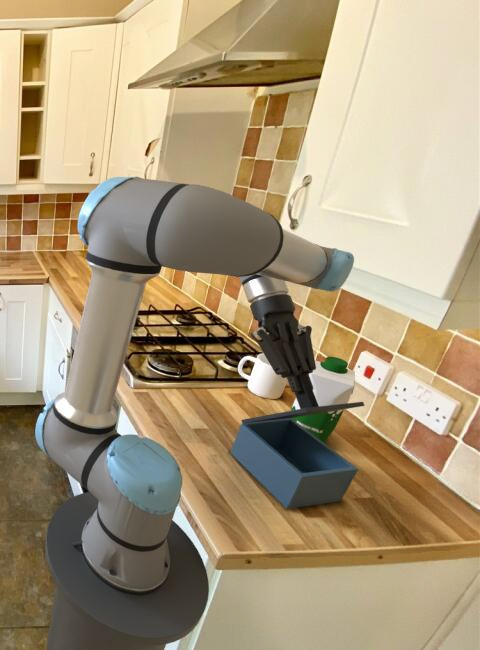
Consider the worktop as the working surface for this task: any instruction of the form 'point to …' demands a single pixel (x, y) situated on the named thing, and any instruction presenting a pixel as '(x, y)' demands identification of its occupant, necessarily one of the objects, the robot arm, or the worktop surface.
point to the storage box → (292, 463)
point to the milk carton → (327, 395)
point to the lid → (303, 412)
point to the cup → (263, 378)
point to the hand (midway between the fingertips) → (309, 407)
